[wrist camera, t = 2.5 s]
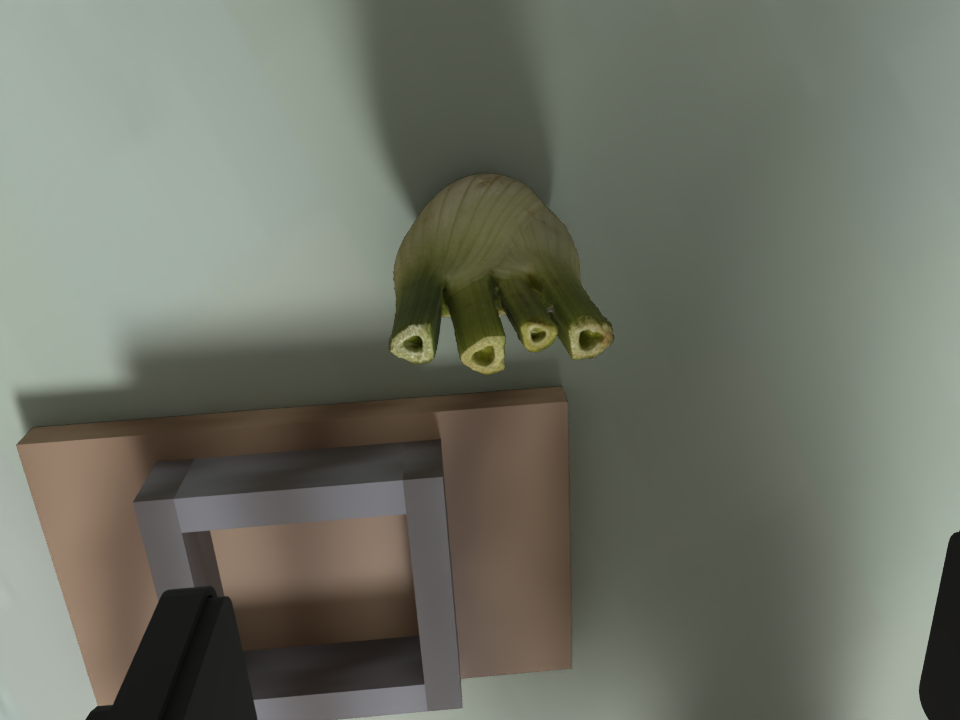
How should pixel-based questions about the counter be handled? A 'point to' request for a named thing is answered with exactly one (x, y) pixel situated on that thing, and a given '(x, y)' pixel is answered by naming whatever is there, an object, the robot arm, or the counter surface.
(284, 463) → the collar stand
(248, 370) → the counter surface
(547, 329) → the fennel bulb
